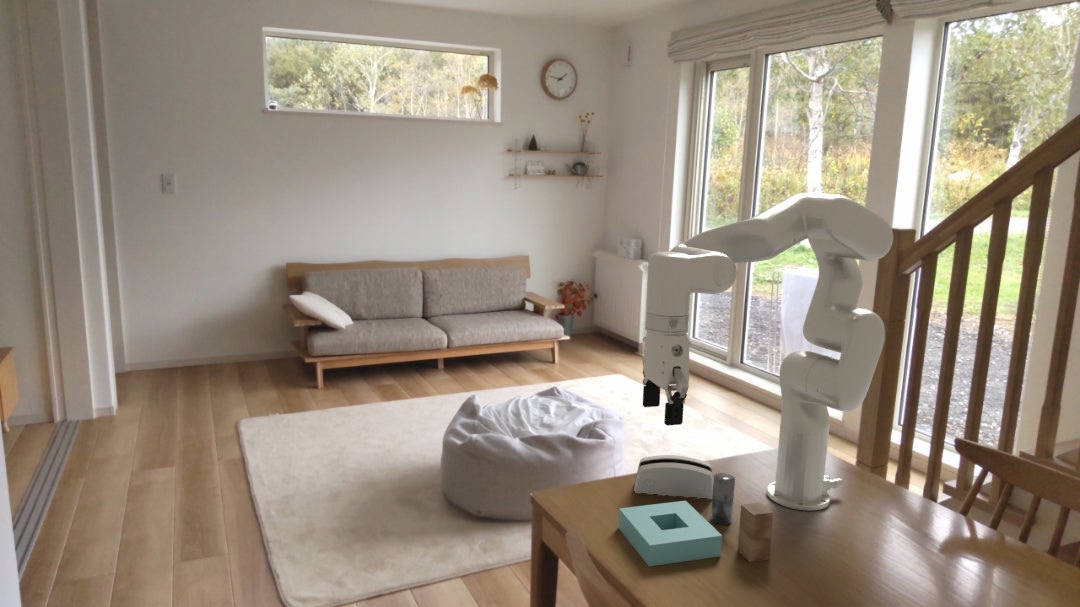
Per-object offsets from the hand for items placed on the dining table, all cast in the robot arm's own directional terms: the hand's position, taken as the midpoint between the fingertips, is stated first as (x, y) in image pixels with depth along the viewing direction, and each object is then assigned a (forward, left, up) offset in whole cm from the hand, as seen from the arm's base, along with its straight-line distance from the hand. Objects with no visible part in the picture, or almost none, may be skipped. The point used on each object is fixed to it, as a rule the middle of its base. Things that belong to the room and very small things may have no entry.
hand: (661, 415), depth 130 cm
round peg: (-16, -3, -24) cm, 29 cm away
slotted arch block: (-12, -16, -25) cm, 32 cm away
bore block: (-2, +2, -24) cm, 24 cm away
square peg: (-15, +10, -24) cm, 30 cm away
